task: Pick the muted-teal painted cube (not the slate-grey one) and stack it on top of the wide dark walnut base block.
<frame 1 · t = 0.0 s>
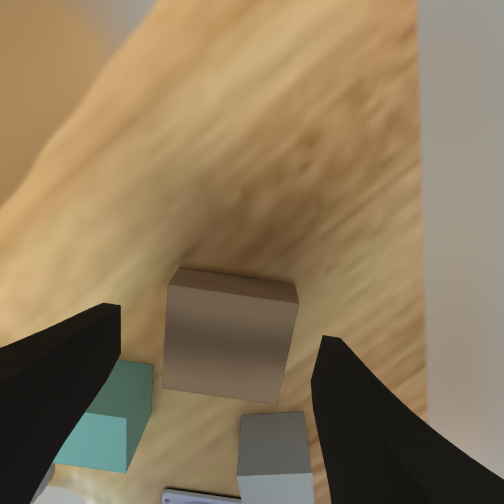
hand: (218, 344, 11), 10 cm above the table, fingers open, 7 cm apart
walnut base block: (230, 323, 23), on the table
grey cube: (275, 435, 26), on the table
teal cube: (121, 384, 25), on the table
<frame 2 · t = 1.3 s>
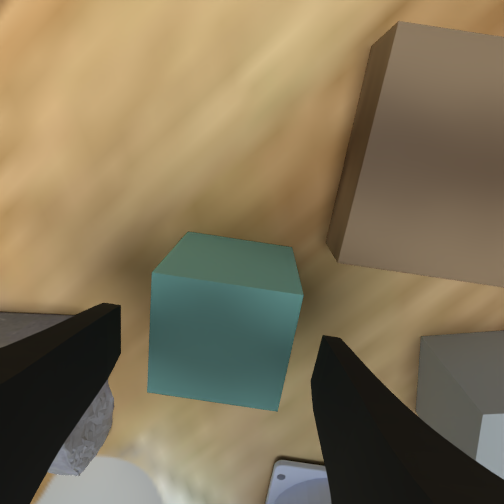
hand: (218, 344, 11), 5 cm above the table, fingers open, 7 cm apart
walnut base block: (434, 167, 14), on the table
grey cube: (465, 371, 17), on the table
teal cube: (233, 285, 16), on the table
stone block: (19, 375, 19), on the table
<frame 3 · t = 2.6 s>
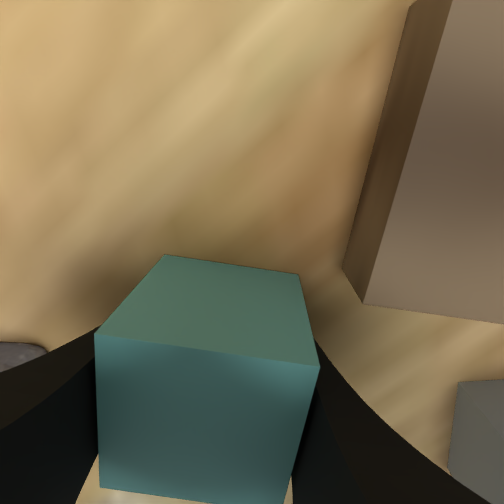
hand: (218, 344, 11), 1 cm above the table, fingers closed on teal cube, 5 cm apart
walnut base block: (485, 172, 10), on the table
teal cube: (223, 322, 12), on the table, touching gripper
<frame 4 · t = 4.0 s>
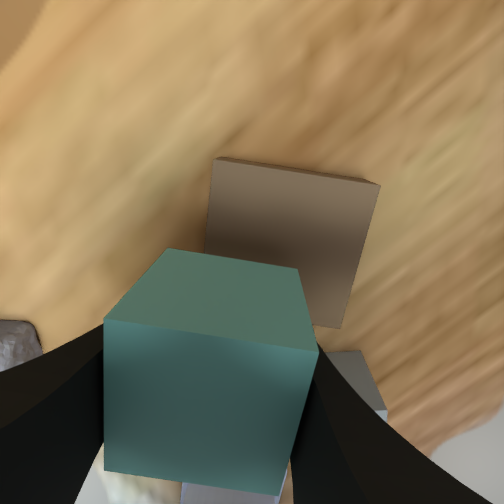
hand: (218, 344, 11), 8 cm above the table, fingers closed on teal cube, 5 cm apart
walnut base block: (279, 235, 19), on the table
grey cube: (323, 381, 22), on the table
teal cube: (224, 314, 13), point 7 cm above the table, touching gripper
when the fingers open (5 cm above the table, at t = 5.8 s): teal cube stays where it is, point 3 cm above the table.
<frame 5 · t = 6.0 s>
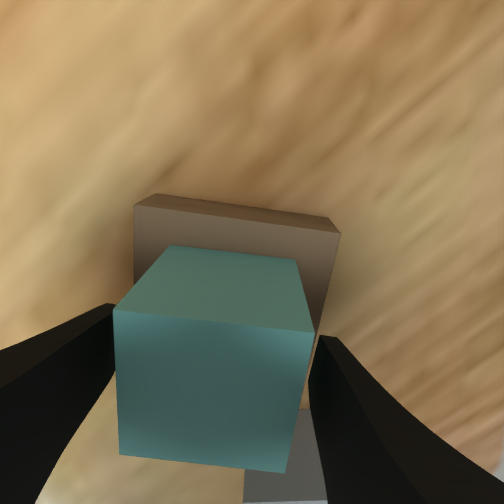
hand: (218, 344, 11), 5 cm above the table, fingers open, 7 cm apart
walnut base block: (233, 279, 16), on the table
grey cube: (293, 439, 19), on the table
teal cube: (227, 307, 13), point 3 cm above the table
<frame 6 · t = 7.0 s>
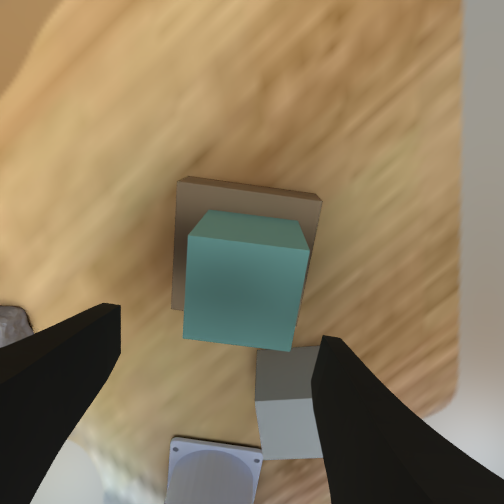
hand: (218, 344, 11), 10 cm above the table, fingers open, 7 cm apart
walnut base block: (244, 243, 21), on the table
grey cube: (292, 373, 24), on the table
teal cube: (248, 256, 18), point 3 cm above the table
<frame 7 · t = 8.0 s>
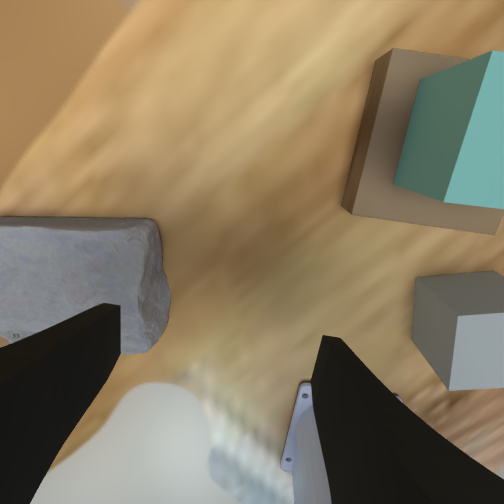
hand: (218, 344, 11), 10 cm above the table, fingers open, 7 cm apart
walnut base block: (421, 148, 19), on the table, touching teal cube
grey cube: (449, 306, 22), on the table
teal cube: (455, 140, 16), point 3 cm above the table, touching walnut base block
stone block: (91, 279, 23), on the table
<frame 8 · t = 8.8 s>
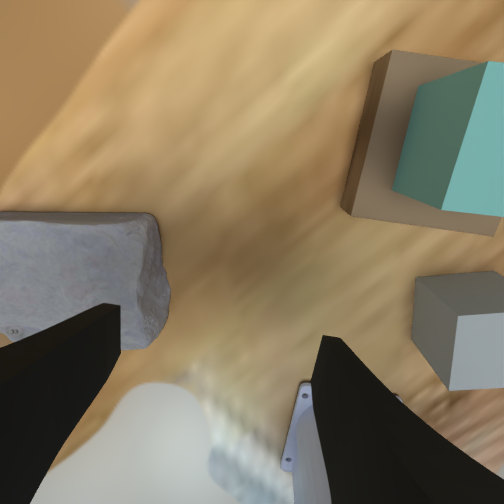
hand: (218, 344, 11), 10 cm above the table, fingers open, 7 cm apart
walnut base block: (420, 149, 19), on the table
grey cube: (449, 306, 22), on the table
teal cube: (453, 146, 16), point 3 cm above the table
stone block: (90, 274, 23), on the table
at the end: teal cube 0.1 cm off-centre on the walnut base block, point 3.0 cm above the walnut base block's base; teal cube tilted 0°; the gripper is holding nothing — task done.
